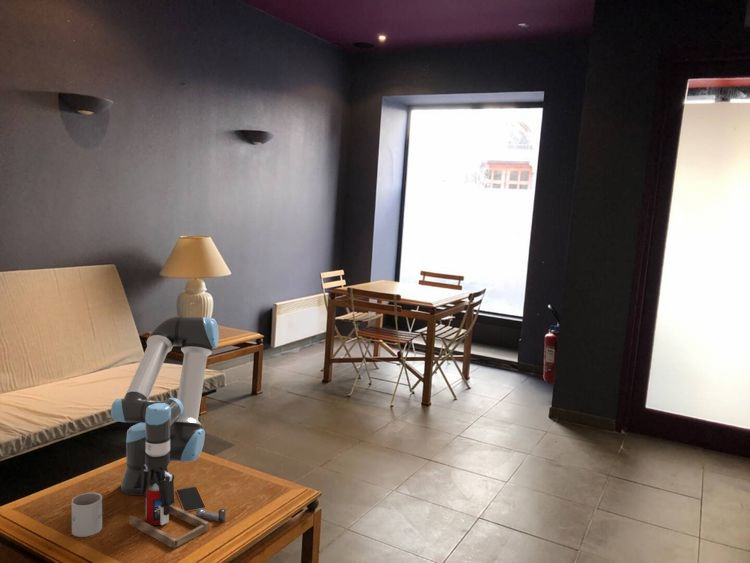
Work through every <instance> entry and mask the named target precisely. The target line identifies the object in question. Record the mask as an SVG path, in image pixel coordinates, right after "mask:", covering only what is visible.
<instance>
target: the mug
mask: <svg viewBox="0 0 750 563" xmlns="http://www.w3.org/2000/svg"><path fill="white" fill-rule="evenodd" d="M102 529H103V495H102V494H101V493H98V492H86V493H85V492H84V493H82V494H79V495H76V496H75V497H73V498H72V500H71V534H72V535H73V536H74V537H81V538H83V537H89V536H90V537H91V536H93V535H96V534H97V533H99V532H100V531H101V530H102Z"/></svg>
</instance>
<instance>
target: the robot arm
mask: <svg viewBox="0 0 750 563" xmlns="http://www.w3.org/2000/svg"><path fill="white" fill-rule="evenodd" d="M219 341H220V333H219V326H218V322H217V321H216V319H215V318H213V317H205V316H203V317H202V316H184V315H183V316H182V315H174V316H170V317H168V318H166V319H164V320H163V321H161V322H160V323H159V324H158V325H156V326H155V328H153V329H152V331H151V332H150V334H149V335H148V337H147V340H146V348H145V351H144V353H143V356H142V358H141V360H140V362H139V363H138V367H137V369H136V370H135V373H134V375H133V377H132V380H131V381H130V385H129V386H128V389H127V391H126V393H125V395H124V397H123V398H117V399H115V400H114V401H113V402H112V405H111V409H110V415H111V419H112V420H113V421H114V422H119V423H136V424H133V425H132V426H130V427H129V429H127V432H126V439H125V444H126V446H125V447H126V448H125V449H126V453H125V454H126V457H125V458H126V462H125V463H126V466H125V471H124V473H123V476H122V480H121V482H120V483H121V484H120V490H121V492H123V493H124V494H127V495H131V496H143V497H144V498H145V501H144V502H145V504H144V505H145V506H146V492H147V490H148V488H149V486H150V485H152V484H154V483H156V484H157V485H158V486H159V491H160V496H161V501H162V505H161V506H160V524H159V525H160V526H164V525H166V524H168V523H169V522H170V520H169V519H170V505H174V504H175V501H176V500H175V486H174V480H175V474H174V473H172V474H171V473H170V472H169V470H168V466H169V464H170V463H171V462H180V463H186V462H191V463H192V462H195V461H196V460H198V459H199V457H200V455H201V453H202V450H203V448H204V444H205V439H206V432H205V429H203V428H202V423H201V422H200V421H199V417H200V416H199V415H200V410H201V402H202V397H203V396H202V393H203V389H204V382H205V374H206V368H207V363H208V362H207V361H208V357H209V356H210V355H212V354H213V349H217V347H218V346H219V344H220V343H219ZM173 347H180V348H181V349H180V350H181V352H182V353H183V358H182V359H183V361H182V365H181V366H182V367H181V372H180V378H179V386H178V391H177V397H169V398H167V399H165V400H152V399H151V400H150V399H149V398H150V395H151V394H152V391H153V388H154V386H155V383H156V381H157V378H158V377H159V374H160V371H161V369H162V367H163V365H164V362H165V360H166V358H167V355H168V353H170V352H172V349H173ZM165 501H166V502H165Z"/></svg>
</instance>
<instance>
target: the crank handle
mask: <svg viewBox="0 0 750 563" xmlns="http://www.w3.org/2000/svg"><path fill="white" fill-rule="evenodd" d="M226 511H227V510H226V509H225V508H220V509H218V513H217V512H214V511H213V512H212V511H209V510H206V509H203V508H198V509H197V510H196V511H195V516H197V517H199V518H202V519H203V518H204V519H208V520H212V521H216V522H218V523H225V522H226V514H227V513H226Z"/></svg>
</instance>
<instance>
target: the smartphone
mask: <svg viewBox="0 0 750 563" xmlns="http://www.w3.org/2000/svg"><path fill="white" fill-rule="evenodd" d="M175 493H176V496H177V498H178V501H179V503H180V506H181V509H182V510H184V511H186V512H188V513H191V512H196V510H197V509H198V508H203V509H205V510H206V509H207V506H206V504H205V501H204V500H203V498H202V494H201V493H200V491H199V488H198V487H197V486H191V487H184V488H180V489H177V490H175Z"/></svg>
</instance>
